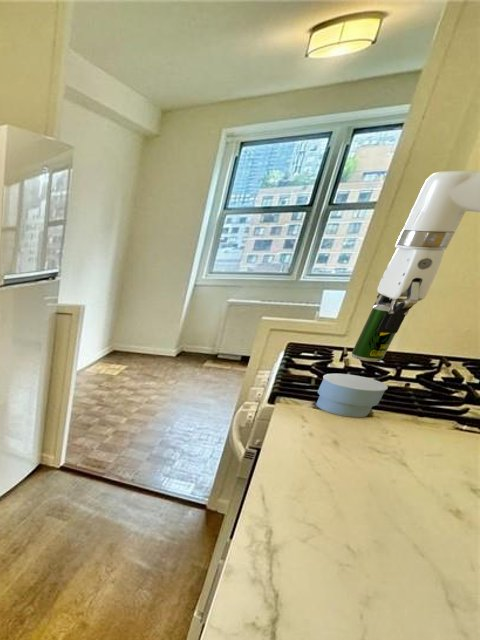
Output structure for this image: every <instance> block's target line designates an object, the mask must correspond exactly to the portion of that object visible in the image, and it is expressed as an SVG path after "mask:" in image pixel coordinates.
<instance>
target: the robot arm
mask: <svg viewBox="0 0 480 640" xmlns="http://www.w3.org/2000/svg"><path fill="white" fill-rule="evenodd" d="M421 187H422V188H421V189H420V192H419V193H418V196H417V198H416V200H415V202H414V205H413V207H412V209H411V210H410V212H409V216H408V218H407V220H406V222H405V224H404V226H403V229H402V231H401V232H400V235H399V236H398V239H397V241H396V243H395V245H394V248H396V250H395V252H394V254H393V256H392V257H391V259H390V261H389V263H388V264H387V266H386V268H385V270H384V272H383V274H382V276H381V279H380V280H379V283H378V285H377V289H376V290H377V293H378V294H377V296H376V300H375V302H374V303H373V307H374V306H376V303H379V302H386V303H391V305H390V308H389V311H388V313H385V315H384V317H383V319H382V321H381V323H380V325H379V327H378V329H377V331H378V332H382V333H396V334H397V333H398V332H399V329H400V327H402V326H401V325H402V323H403V321H404V320H405V317H406V316H407V315H408V314H409V312H410V309H412V308H413V307H414V306H415V305H416V304H418V302H420V301H423V300H424V299H426V296H427V295H428V292H429V290H430V289H431V286H432V284H433V282H434V279H435V277H436V275H437V273H438V271H439V269H440V268H439V267H440V266H441V263H442V259H443V256H444V253H445V250H447V248H448V247H449V245H450V242H451V241H452V239H453V237H454V235H455V233H456V231H457V229H458V227H459V225H460V223H461V221H462V219H463V217H464V215H465V214H466V212H474V213H480V171H478V170H445V171H437V172H433V173H432V174H431V175H429V176H428V177H427V178H426V179H425V181H424V182H423V185H422V186H421ZM397 304H399V305H398V306H397Z"/></svg>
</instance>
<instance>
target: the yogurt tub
mask: <svg viewBox="0 0 480 640" xmlns="http://www.w3.org/2000/svg"><path fill="white" fill-rule="evenodd" d="M388 388H389V387H388V385H387V384H385V383H383V382H382V381H380V380H376V379H373V378H370V377H365V376H362V375H361V376H360V375H355V374H349V373H326V374H324V375H323V376H322V381H321V383H320V385H319V387H318V390H317V394H318V395H319V396H318V399H317V400H316V402H315V406H316V407H318V408H319V409H321V410H322V411H325V412H327V413H330V414H334V415H338V416H341V417H343V416H344V417H349V418H350V417H351V418H365V417H367V416H368V415H369V414H370V412H371V410H372V408H373V407H375V406H378V405H379V403H380V401H381V399H382V398H383V395H384V394H385V392H386V391H387V390H388Z"/></svg>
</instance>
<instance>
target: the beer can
mask: <svg viewBox="0 0 480 640" xmlns="http://www.w3.org/2000/svg"><path fill="white" fill-rule="evenodd" d="M399 304H400V303H397V306H398V305H399ZM390 305H391V303H386V302H379V303H376V306H374V305H373V307H372V309H371V311H370V313H369V315H368V317H367V319H366V321H365V324H364V325H363V328H362V330H361V332H360V334H359V337H358V338H357V341H356V343H355V345H354V347H353V350H352V351H351V357H352V358H353V359H356V360H359V361H365V362H373V363H374V362H376V363H377V362H381V360H382V359H384V358H385V355H386V354H387V351H388V350H389V348H390V345H391V343H392V342H393V340H394V337H395V335H396V334H397V333H382V332H378V331H377V329H378V327H379V325H380V323H381V321H382V319H383V317H384V315H385V313H388V311H389V308H390Z"/></svg>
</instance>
